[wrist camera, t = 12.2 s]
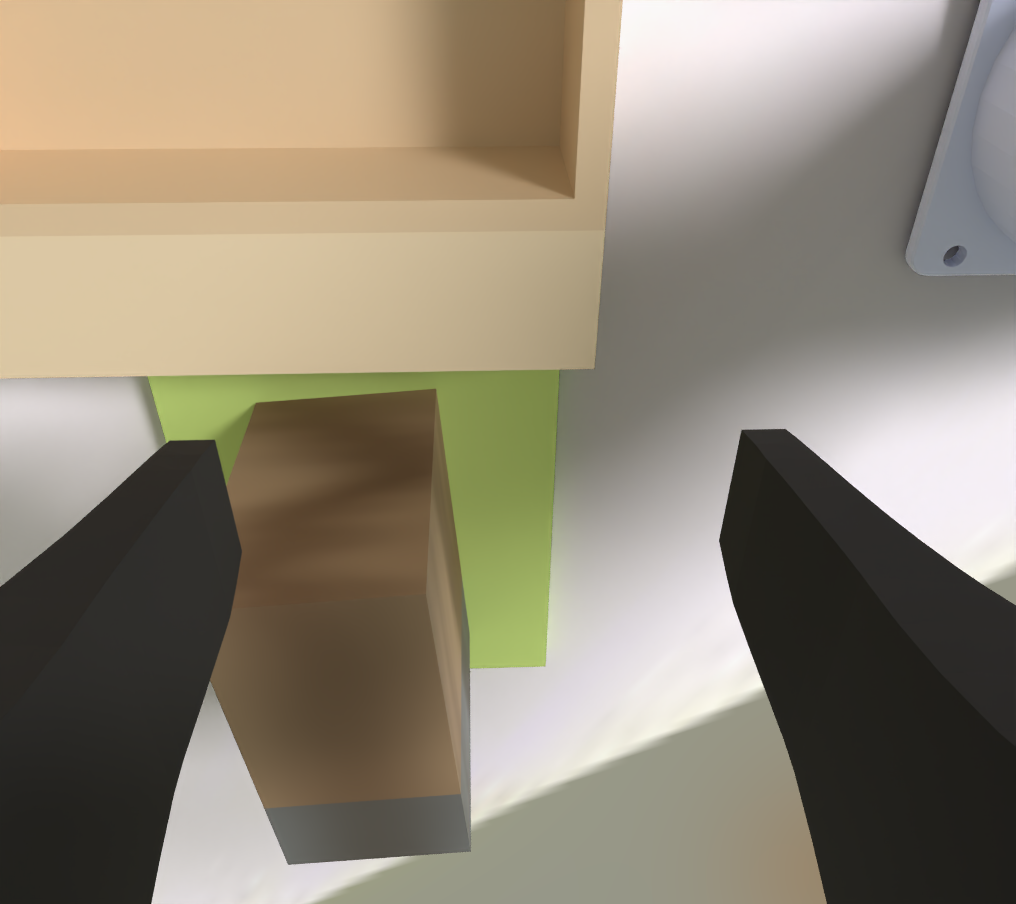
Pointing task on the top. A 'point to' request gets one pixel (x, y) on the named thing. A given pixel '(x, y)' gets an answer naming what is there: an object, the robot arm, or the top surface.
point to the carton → (303, 185)
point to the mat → (471, 471)
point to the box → (350, 629)
